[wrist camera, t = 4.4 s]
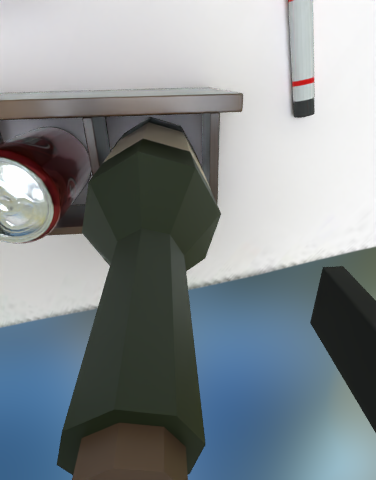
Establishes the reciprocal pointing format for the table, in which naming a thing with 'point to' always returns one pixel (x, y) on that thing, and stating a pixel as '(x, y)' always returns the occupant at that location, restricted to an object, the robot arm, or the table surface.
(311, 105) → the marker
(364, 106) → the table surface
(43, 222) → the soda can
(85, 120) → the divided wooden storage box
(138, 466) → the wine bottle
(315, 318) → the robot arm
